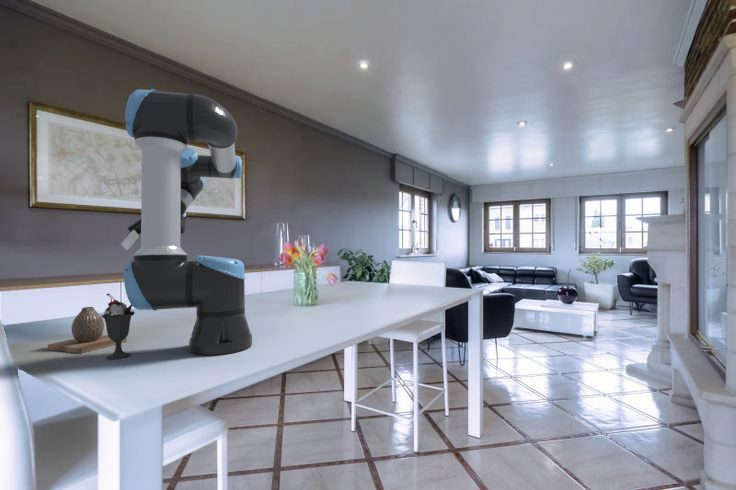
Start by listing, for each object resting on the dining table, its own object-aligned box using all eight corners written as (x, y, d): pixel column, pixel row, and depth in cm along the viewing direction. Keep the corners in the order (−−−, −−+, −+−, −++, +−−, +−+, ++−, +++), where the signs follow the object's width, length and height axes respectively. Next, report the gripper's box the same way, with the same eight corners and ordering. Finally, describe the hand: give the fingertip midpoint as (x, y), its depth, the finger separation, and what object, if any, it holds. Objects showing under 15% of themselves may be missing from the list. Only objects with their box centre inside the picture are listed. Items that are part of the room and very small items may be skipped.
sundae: (96, 357, 90) (95, 293, 90) (128, 350, 95) (127, 290, 95) (107, 362, 86) (106, 295, 86) (139, 355, 91) (138, 292, 91)
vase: (87, 344, 97) (86, 310, 97) (64, 343, 98) (64, 309, 98) (110, 338, 104) (110, 305, 104) (89, 336, 105) (89, 305, 105)
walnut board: (126, 341, 105) (126, 337, 105) (81, 353, 93) (81, 348, 93) (94, 338, 108) (94, 334, 108) (47, 349, 97) (47, 344, 97)
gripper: (212, 211, 134) (182, 255, 119) (152, 212, 139) (116, 255, 125) (202, 194, 128) (169, 238, 114) (140, 196, 134) (102, 238, 120)
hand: (142, 247), depth 119 cm, fingers open, 13 cm apart
